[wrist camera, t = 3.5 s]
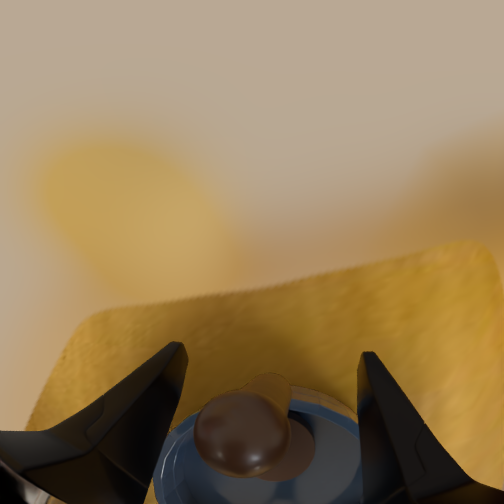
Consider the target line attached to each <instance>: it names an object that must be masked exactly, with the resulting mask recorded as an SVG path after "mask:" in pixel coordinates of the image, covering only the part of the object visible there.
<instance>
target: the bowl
mask: <svg viewBox="0 0 504 504" xmlns="http://www.w3.org/2000/svg"><path fill="white" fill-rule="evenodd" d="M290 387H291V390H292V397H291V402H290V406H289V412H292V413H295V414H297V415H299V416H300V417H302V418H303V419H304V420H305V421H306V422H307V423H308V424H309V425H310V427H311V428H312V431H313V433H314V438H315V455H314V458H313V461H312V463H311V464H310V466H309V467H308V468H307V469H306V470H305V471H304V472H303V473H302V474H300V475H299V476H297V477H295V478H292V479H290V480H286V481H279V482H272V481H265V480H262V479H259V478H256V477H252V478H233V477H229V476H225V475H223V474H221V473H218V472H217V471H215V470H213V469H212V468H211V467H209V466H208V465H207V464H206V463H205V462H204V461H203V459H202V458H201V457H200V455H199V453H198V451H197V449H196V446H195V443H194V436H193V431H194V424H195V421H196V418H197V416H198V414H199V412H200V411H201V409H202V408H201V409H199V410H198V411H196V412H195V413H193V414H191V415H190V416H188V417H187V418H186V419H185V420H184V421H182V422H181V423H180V424H179V425H178V426H177V427H175V428H174V429H173V430H172V431H171V432H170V433H169V434H168V435H167V437H166V439H165V442H164V445H163V448H162V450H161V453H160V456H159V459H158V462H157V465H156V468H155V471H154V473H153V483H154V490H155V496H156V499H157V501H158V503H159V504H363V481H362V463H361V449H360V437H359V426H358V416H357V415H356V414H355V413H354V412H353V411H352V410H351V409H350V408H348V407H347V406H346V405H344V404H343V403H341V402H340V401H338V400H336V399H334V398H333V397H331V396H329V395H326V394H324V393H321V392H319V391H316V390H312V389H309V388H305V387H300V386H293V385H290Z"/></svg>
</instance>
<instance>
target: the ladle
mask: <svg viewBox="0 0 504 504" xmlns="http://www.w3.org/2000/svg"><path fill="white" fill-rule="evenodd" d="M291 397H292V390H291V387H290V384H289V383H288V381H287V380H286V379H285V378H283V377H282V376H280V375H278V374H275V373H264V374H261V375H258V376H257V377H255V378H254V379H253V380H251V381H250V382H249V383H248V384H246V385H245V386H244V387H243V388H241V389H240V390H233V391H228V392H225V393H222V394H220V395H218V396H216V397H214V398H213V399H211V400H210V401H209V402H208V403H207V404H206V405H205V406H204V407H203V408H202V409H201V411H200V412H199V414H198V416H197V418H196V421H195V424H194V431H193V436H194V443H195V446H196V449H197V451H198V453H199V455H200V457H201V458H202V459H203V461H204V462H205V463H206V464H207V465H208V466H209V467H211V468H212V469H213V470H215V471H217V472H218V473H221V474H223V475H225V476H229V477H233V478H252V477H256V478H259V479H262V480H265V481H272V482H279V481H286V480H290V479H292V478H295V477H297V476H299V475H300V474H302V473H303V472H304V471H305V470H306V469H307V468H308V467H309V466H310V464H311V463H312V461H313V458H314V455H315V438H314V433H313V431H312V428H311V427H310V425H309V424H308V423H307V422H306V421H305V420H304V419H303V418H302V417H300V416H299V415H297V414H295V413H292V412H289V406H290V402H291Z"/></svg>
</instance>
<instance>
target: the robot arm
mask: <svg viewBox="0 0 504 504" xmlns="http://www.w3.org/2000/svg"><path fill="white" fill-rule="evenodd" d="M187 366H188V355H187V352H186V349H185V346H184V344H183V343H182V342H175V341H172V342H170V343H169V344H168V345H166V346H165V347H164V348H163V349H161V350H160V351H159V352H158V353H156V354H155V355H154V356H152V357H151V358H150V359H149V360H147V361H146V362H145V363H143V364H142V365H141V366H140V367H138V368H137V369H136V370H135V371H133V372H132V373H131V374H129V375H128V376H127V377H125V378H124V379H123V380H122V381H120V382H119V383H118V384H116V385H115V386H114V387H113V388H111V389H110V390H109V391H107V392H106V393H105V394H104V395H102V396H101V397H99V398H98V399H97V400H95V401H94V402H93V403H91V404H90V405H88V406H87V407H86V408H84V409H82V410H81V411H79V412H78V413H76V414H75V415H73V416H71V417H70V418H68V419H66V420H64V421H63V422H61V423H59V424H58V425H56V426H54V427H52V428H50V429H47V430H44V431H0V504H143V503H144V500H145V497H146V494H147V491H148V488H149V485H150V482H151V479H152V476H153V473H154V471H155V468H156V465H157V462H158V459H159V456H160V453H161V450H162V448H163V445H164V442H165V439H166V436H167V433H168V431H169V428H170V425H171V422H172V419H173V417H174V414H175V411H176V408H177V405H178V403H179V400H180V396H181V392H182V388H183V383H184V379H185V375H186V370H187ZM357 415H358V426H359V437H360V449H361V463H362V481H363V504H504V491H502V490H499V489H496V488H493V487H490V486H487V485H484V484H481V483H479V482H477V481H475V480H473V479H472V478H471V477H469V476H468V475H467V474H466V473H465V472H464V471H463V469H462V468H461V467H460V466H459V465H458V464H457V463H456V461H455V460H454V459H453V458H452V457H451V456H450V455H449V453H448V452H447V451H446V450H445V449H444V448H443V446H442V445H441V444H440V443H439V442H438V440H437V439H436V437H435V436H434V435H433V433H432V432H431V431H430V429H429V428H428V426H427V425H426V424H424V420H423V419H422V418H421V416H420V415H419V413H418V412H417V410H416V409H415V407H414V406H413V405H412V403H411V402H410V400H409V399H408V398H407V396H406V395H405V393H404V392H403V391H402V389H401V388H400V386H399V385H398V384H397V382H396V381H395V379H394V378H393V377H392V375H391V374H390V373H389V371H388V370H387V368H386V367H385V366H384V364H383V363H382V362H381V360H380V359H379V358H378V356H377V355H376V353H375V352H373V351H367V352H362V354H361V357H360V361H359V365H358V369H357Z"/></svg>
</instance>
